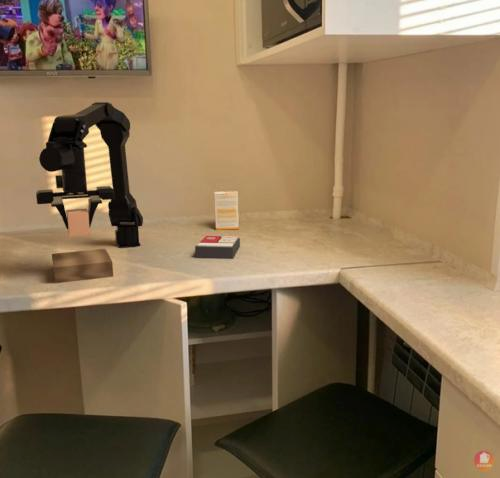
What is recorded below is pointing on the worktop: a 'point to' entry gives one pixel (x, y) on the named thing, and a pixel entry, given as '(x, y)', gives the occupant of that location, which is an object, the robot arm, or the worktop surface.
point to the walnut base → (82, 265)
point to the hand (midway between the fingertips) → (78, 228)
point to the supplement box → (226, 210)
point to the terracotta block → (78, 222)
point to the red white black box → (217, 247)
